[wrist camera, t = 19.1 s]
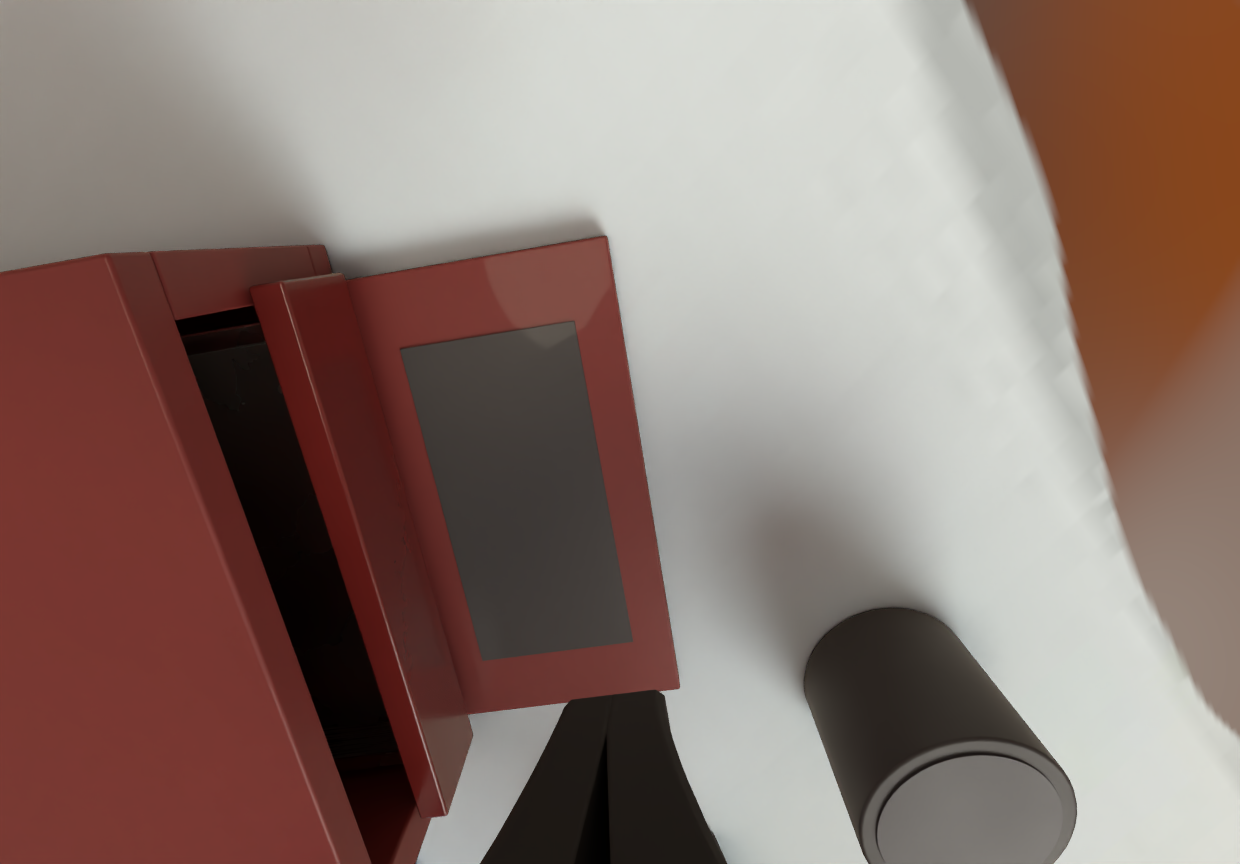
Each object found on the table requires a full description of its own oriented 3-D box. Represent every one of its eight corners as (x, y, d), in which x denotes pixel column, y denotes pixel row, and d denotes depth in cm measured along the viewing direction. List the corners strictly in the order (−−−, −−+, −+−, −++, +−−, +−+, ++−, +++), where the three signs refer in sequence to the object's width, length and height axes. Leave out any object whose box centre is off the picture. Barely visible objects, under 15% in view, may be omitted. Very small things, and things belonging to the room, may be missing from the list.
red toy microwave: (600, 195, 17) (571, 164, 9) (683, 702, 21) (709, 968, 14) (-148, 327, 18) (-721, 397, 11) (80, 774, 23) (-203, 1051, 15)
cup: (967, 732, 22) (1075, 896, 16) (809, 750, 22) (865, 917, 17) (966, 597, 20) (1086, 729, 15) (797, 617, 20) (854, 754, 15)
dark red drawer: (344, 271, 16) (282, 280, 13) (474, 734, 20) (448, 817, 18) (-135, 354, 17) (-289, 379, 14) (82, 781, 21) (-3, 866, 18)
